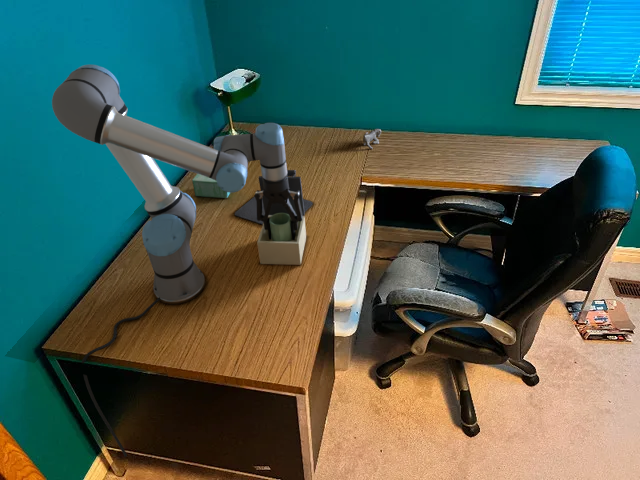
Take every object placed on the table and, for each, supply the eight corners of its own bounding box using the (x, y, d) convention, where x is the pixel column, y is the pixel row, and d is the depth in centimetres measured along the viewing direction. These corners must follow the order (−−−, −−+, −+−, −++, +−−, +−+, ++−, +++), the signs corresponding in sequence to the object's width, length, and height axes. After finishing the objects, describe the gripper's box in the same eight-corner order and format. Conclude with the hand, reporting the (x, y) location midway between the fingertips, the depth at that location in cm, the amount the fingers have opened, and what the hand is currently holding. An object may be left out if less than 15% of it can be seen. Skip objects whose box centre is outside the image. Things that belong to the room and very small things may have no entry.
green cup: (289, 245, 153) (286, 226, 149) (269, 242, 155) (266, 223, 150) (295, 232, 159) (293, 213, 154) (276, 230, 160) (273, 211, 156)
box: (228, 198, 187) (224, 182, 182) (195, 196, 189) (191, 180, 185) (234, 188, 193) (231, 172, 188) (202, 187, 195) (198, 170, 190)
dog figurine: (369, 151, 212) (369, 135, 208) (359, 147, 215) (359, 131, 211) (385, 140, 219) (386, 125, 215) (375, 137, 222) (375, 122, 218)
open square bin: (300, 265, 154) (298, 243, 149) (260, 263, 156) (256, 242, 150) (306, 237, 166) (304, 216, 160) (268, 236, 167) (265, 215, 162)
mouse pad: (314, 202, 182) (314, 202, 182) (284, 232, 168) (284, 231, 168) (264, 188, 191) (264, 187, 191) (232, 214, 178) (232, 214, 178)
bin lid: (300, 178, 149) (302, 163, 154) (258, 177, 150) (262, 163, 155) (304, 215, 160) (306, 200, 165) (265, 214, 161) (268, 200, 166)
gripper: (309, 169, 144) (314, 230, 159) (244, 168, 147) (254, 229, 161) (306, 182, 139) (311, 245, 153) (239, 181, 141) (250, 243, 155)
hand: (282, 237), depth 157 cm, fingers closed on green cup, 7 cm apart
